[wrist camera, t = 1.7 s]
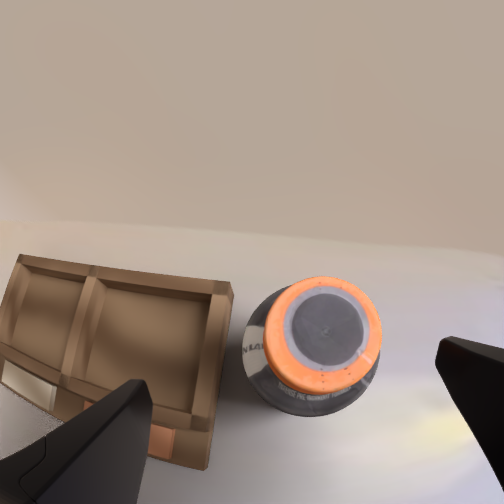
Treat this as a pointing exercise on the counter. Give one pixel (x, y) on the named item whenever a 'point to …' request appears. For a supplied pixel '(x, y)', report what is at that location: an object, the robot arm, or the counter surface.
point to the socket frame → (118, 345)
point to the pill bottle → (312, 346)
